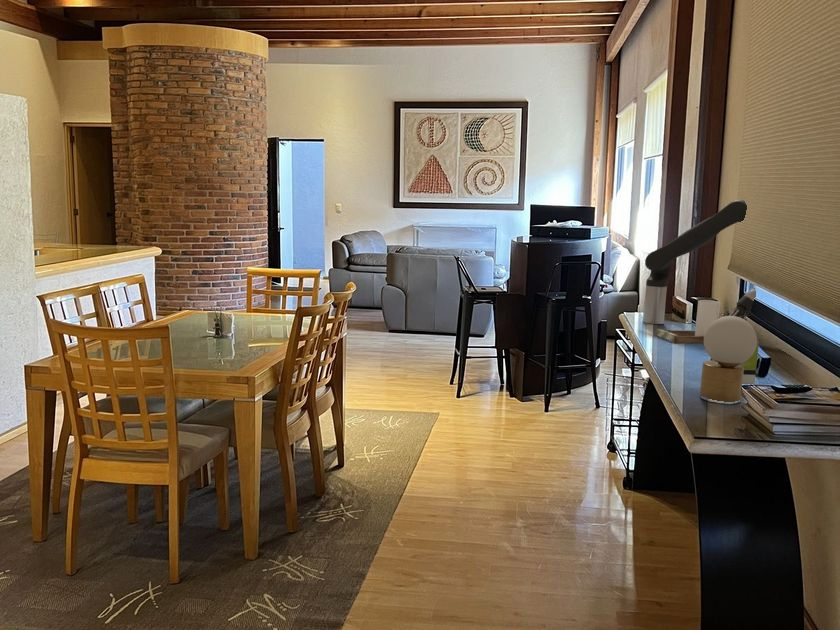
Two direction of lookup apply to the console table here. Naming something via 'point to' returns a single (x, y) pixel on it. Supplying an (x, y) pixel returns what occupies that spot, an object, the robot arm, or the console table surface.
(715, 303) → the cup
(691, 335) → the bay
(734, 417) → the console table surface
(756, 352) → the tea box
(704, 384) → the lamp
